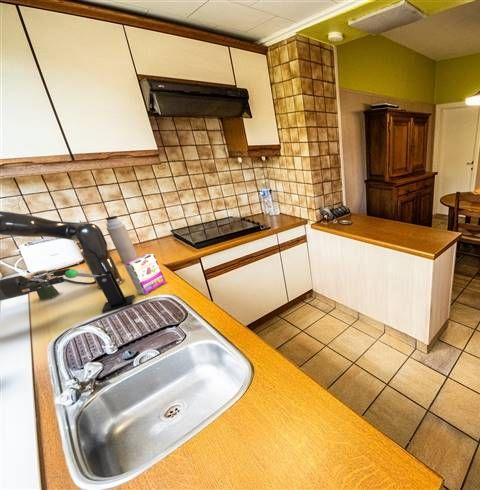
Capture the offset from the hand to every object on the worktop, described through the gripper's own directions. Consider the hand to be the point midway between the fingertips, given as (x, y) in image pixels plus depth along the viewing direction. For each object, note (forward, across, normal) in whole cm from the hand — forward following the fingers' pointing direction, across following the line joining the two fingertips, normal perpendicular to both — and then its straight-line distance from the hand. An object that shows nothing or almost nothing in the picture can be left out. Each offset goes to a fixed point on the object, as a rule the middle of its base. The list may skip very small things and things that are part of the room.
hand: (67, 274), depth 106 cm
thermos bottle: (+8, +59, +19) cm, 63 cm away
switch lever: (+5, 0, +4) cm, 6 cm away
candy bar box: (+22, +8, +19) cm, 30 cm away
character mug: (-20, +31, +19) cm, 42 cm away
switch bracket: (+10, 0, +19) cm, 21 cm away
